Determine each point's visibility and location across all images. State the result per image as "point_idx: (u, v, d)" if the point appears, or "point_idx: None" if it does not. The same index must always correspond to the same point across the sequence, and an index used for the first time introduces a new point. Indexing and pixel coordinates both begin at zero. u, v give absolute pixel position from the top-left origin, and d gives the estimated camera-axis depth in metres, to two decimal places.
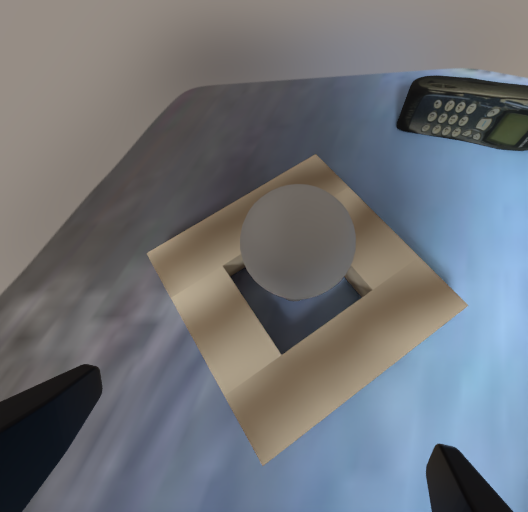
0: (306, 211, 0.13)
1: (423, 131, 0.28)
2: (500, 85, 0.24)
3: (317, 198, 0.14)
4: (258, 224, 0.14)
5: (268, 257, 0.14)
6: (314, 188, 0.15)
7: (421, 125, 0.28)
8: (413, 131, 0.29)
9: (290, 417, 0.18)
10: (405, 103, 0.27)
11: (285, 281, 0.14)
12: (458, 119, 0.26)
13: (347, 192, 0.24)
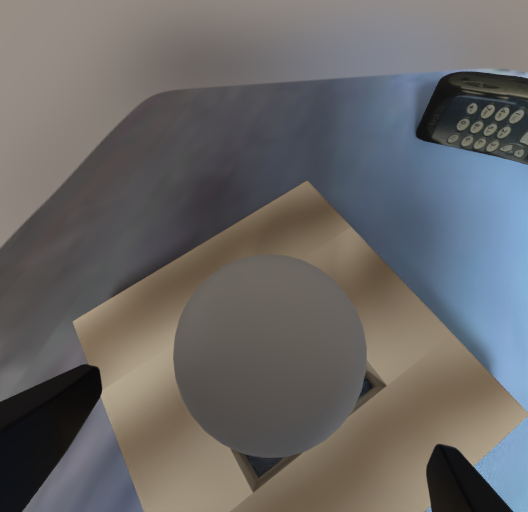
0: (276, 327, 0.07)
1: (449, 142, 0.23)
2: None
3: (299, 296, 0.08)
4: (192, 342, 0.08)
5: (208, 408, 0.07)
6: (295, 270, 0.09)
7: (448, 135, 0.22)
8: (437, 141, 0.23)
9: None
10: (429, 105, 0.21)
11: (241, 447, 0.08)
12: (497, 129, 0.20)
13: (349, 234, 0.18)
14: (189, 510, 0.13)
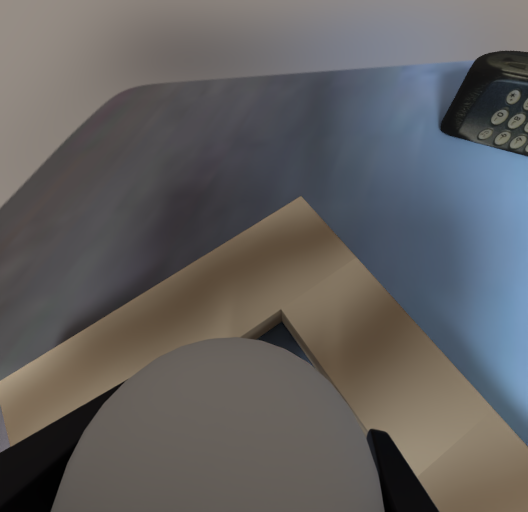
0: None
1: (480, 138, 0.19)
2: None
3: (256, 475, 0.04)
4: None
5: None
6: (257, 400, 0.05)
7: (479, 129, 0.18)
8: (465, 137, 0.19)
9: None
10: (459, 92, 0.17)
11: None
12: None
13: (354, 268, 0.14)
14: None
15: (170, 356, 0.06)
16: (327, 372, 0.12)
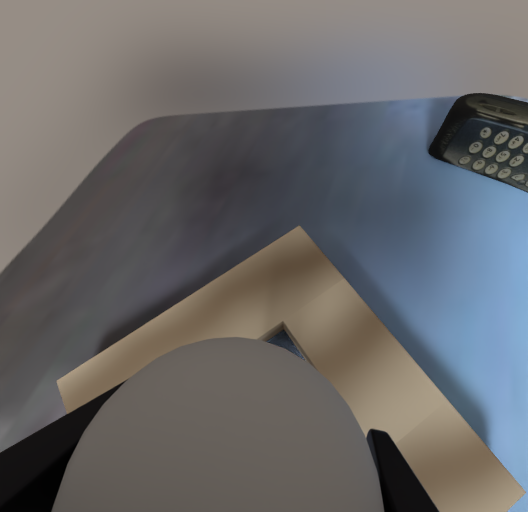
0: None
1: (460, 163, 0.22)
2: None
3: (255, 476, 0.04)
4: None
5: None
6: (257, 400, 0.05)
7: (459, 155, 0.22)
8: (448, 161, 0.23)
9: None
10: (443, 124, 0.21)
11: None
12: (509, 157, 0.20)
13: (342, 287, 0.17)
14: None
15: (170, 356, 0.06)
16: (319, 371, 0.15)
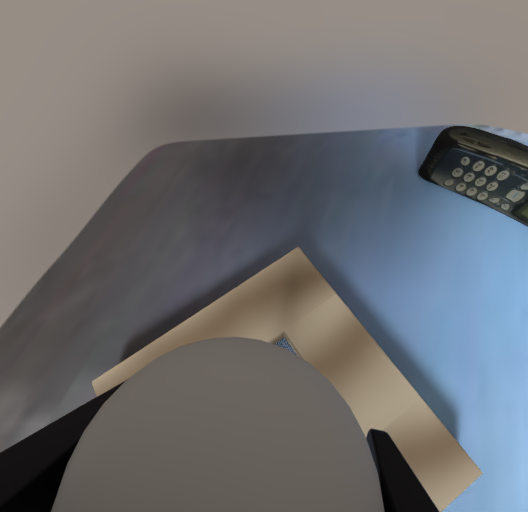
0: None
1: (445, 185, 0.25)
2: None
3: (255, 477, 0.04)
4: None
5: None
6: (257, 400, 0.05)
7: (444, 178, 0.25)
8: (435, 182, 0.25)
9: None
10: (430, 151, 0.24)
11: None
12: (486, 182, 0.23)
13: (334, 301, 0.20)
14: None
15: (170, 356, 0.06)
16: None
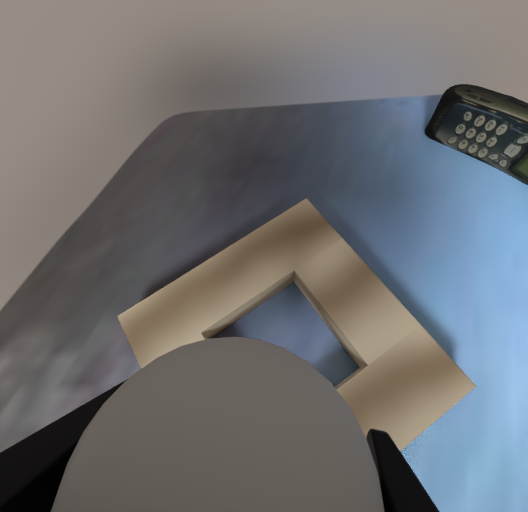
0: None
1: (449, 143, 0.27)
2: None
3: (255, 477, 0.04)
4: None
5: None
6: (257, 400, 0.05)
7: (448, 136, 0.26)
8: (439, 141, 0.27)
9: None
10: (436, 108, 0.26)
11: None
12: (486, 138, 0.25)
13: (341, 244, 0.21)
14: None
15: (170, 356, 0.06)
16: (323, 306, 0.20)
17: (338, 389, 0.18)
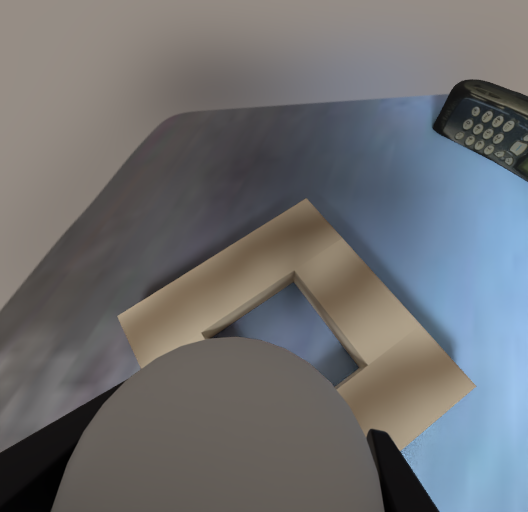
0: None
1: (456, 138, 0.27)
2: None
3: (255, 477, 0.04)
4: None
5: None
6: (257, 401, 0.05)
7: (455, 131, 0.27)
8: (447, 136, 0.27)
9: None
10: (445, 102, 0.26)
11: None
12: (493, 134, 0.25)
13: (341, 244, 0.21)
14: None
15: (170, 356, 0.06)
16: (323, 306, 0.20)
17: (338, 389, 0.18)
